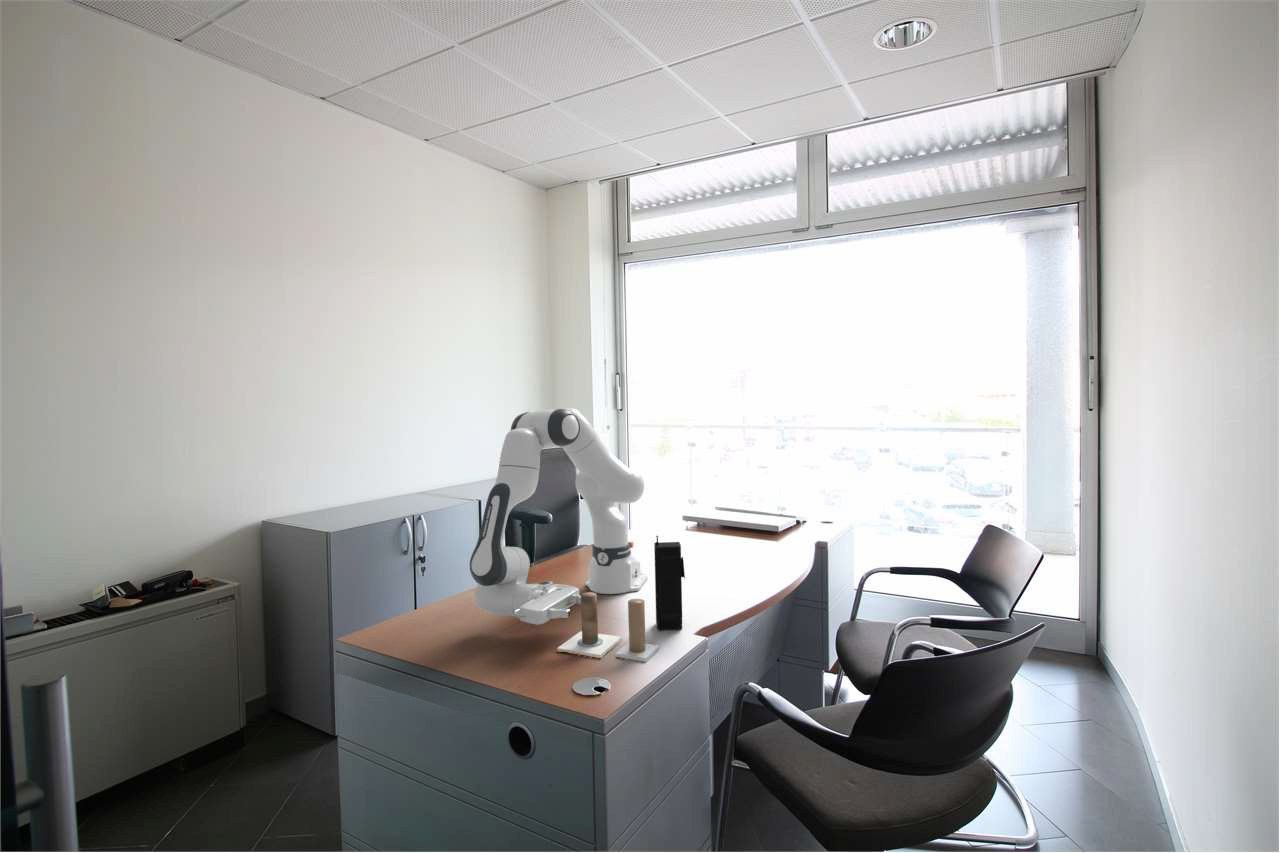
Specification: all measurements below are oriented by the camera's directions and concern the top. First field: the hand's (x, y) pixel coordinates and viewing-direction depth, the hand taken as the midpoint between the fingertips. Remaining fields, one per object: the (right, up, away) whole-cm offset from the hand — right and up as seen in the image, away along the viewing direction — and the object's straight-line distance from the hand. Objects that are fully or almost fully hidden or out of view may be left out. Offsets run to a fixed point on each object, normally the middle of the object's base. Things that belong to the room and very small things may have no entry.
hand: (577, 607), depth 172 cm
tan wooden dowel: (+15, -10, -6) cm, 19 cm away
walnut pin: (+3, -8, -1) cm, 9 cm away
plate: (+3, -9, -1) cm, 10 cm away
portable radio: (+24, -8, +12) cm, 28 cm away
